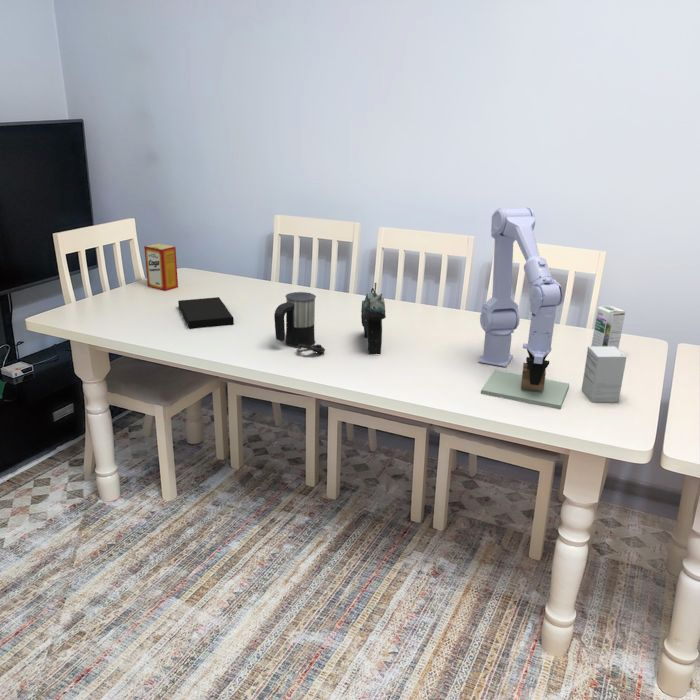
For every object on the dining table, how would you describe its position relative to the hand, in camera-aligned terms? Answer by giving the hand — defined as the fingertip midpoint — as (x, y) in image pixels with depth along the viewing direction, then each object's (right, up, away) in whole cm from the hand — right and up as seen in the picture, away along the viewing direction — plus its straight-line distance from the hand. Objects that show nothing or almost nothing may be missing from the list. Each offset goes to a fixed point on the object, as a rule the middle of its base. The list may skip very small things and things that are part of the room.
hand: (534, 379), depth 178 cm
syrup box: (+28, +6, +28) cm, 40 cm away
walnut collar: (0, -2, +1) cm, 2 cm away
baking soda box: (-119, +31, +83) cm, 149 cm away
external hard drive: (-96, +18, +53) cm, 111 cm away
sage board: (-2, -3, +2) cm, 4 cm away
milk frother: (-61, +8, +28) cm, 68 cm away
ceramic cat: (-42, +9, +31) cm, 52 cm away
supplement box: (+17, -5, 0) cm, 17 cm away
